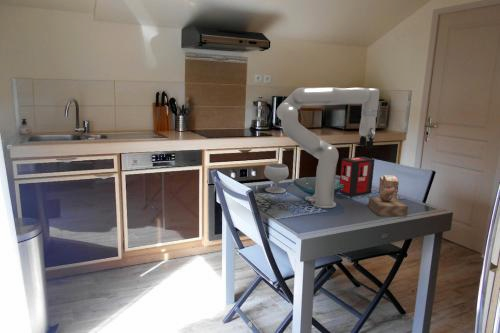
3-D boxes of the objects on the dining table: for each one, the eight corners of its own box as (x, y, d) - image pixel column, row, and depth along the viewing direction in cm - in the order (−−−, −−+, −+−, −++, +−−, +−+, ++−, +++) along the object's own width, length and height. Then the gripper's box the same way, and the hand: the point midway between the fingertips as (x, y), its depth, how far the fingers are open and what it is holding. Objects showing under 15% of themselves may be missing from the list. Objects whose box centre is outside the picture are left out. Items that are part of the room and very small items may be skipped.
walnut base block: (378, 215, 184) (379, 206, 183) (368, 206, 198) (369, 197, 197) (407, 216, 185) (408, 206, 184) (394, 206, 199) (395, 197, 197)
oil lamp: (392, 199, 194) (394, 184, 192) (397, 202, 190) (399, 186, 188) (377, 200, 191) (378, 185, 190) (381, 202, 188) (383, 187, 186)
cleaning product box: (359, 189, 229) (362, 156, 224) (371, 193, 221) (374, 159, 217) (338, 192, 221) (341, 158, 216) (350, 196, 213) (353, 161, 209)
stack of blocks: (378, 191, 227) (380, 170, 224) (389, 192, 226) (391, 171, 223) (384, 202, 206) (386, 180, 203) (396, 203, 205) (399, 181, 202)
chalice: (289, 188, 225) (290, 163, 222) (286, 195, 212) (287, 169, 208) (265, 186, 228) (267, 162, 225) (261, 193, 215) (262, 167, 211)
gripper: (356, 111, 199) (353, 144, 203) (368, 114, 182) (364, 150, 186) (370, 112, 199) (366, 144, 203) (383, 115, 182) (379, 150, 186)
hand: (365, 147), depth 194 cm, fingers open, 9 cm apart
